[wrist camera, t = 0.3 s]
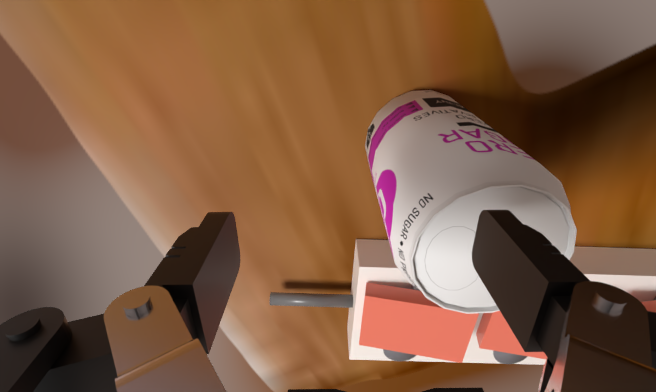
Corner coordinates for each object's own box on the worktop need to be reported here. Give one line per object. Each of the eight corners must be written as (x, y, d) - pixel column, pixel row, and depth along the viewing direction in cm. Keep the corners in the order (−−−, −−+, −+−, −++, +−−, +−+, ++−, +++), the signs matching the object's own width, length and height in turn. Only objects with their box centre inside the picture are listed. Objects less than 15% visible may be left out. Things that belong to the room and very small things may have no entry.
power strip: (271, 236, 33) (262, 270, 28) (686, 250, 34) (739, 285, 29) (275, 325, 38) (268, 365, 34) (629, 335, 39) (667, 375, 35)
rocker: (366, 282, 30) (364, 295, 29) (475, 298, 29) (479, 313, 27) (360, 330, 33) (358, 344, 31) (458, 347, 32) (461, 362, 30)
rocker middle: (492, 286, 30) (497, 299, 29) (605, 302, 29) (616, 317, 28) (475, 333, 33) (479, 348, 32) (578, 350, 32) (586, 366, 30)
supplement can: (374, 193, 31) (409, 334, 17) (356, 101, 27) (383, 193, 14) (468, 173, 30) (580, 307, 17) (463, 76, 26) (604, 148, 13)
